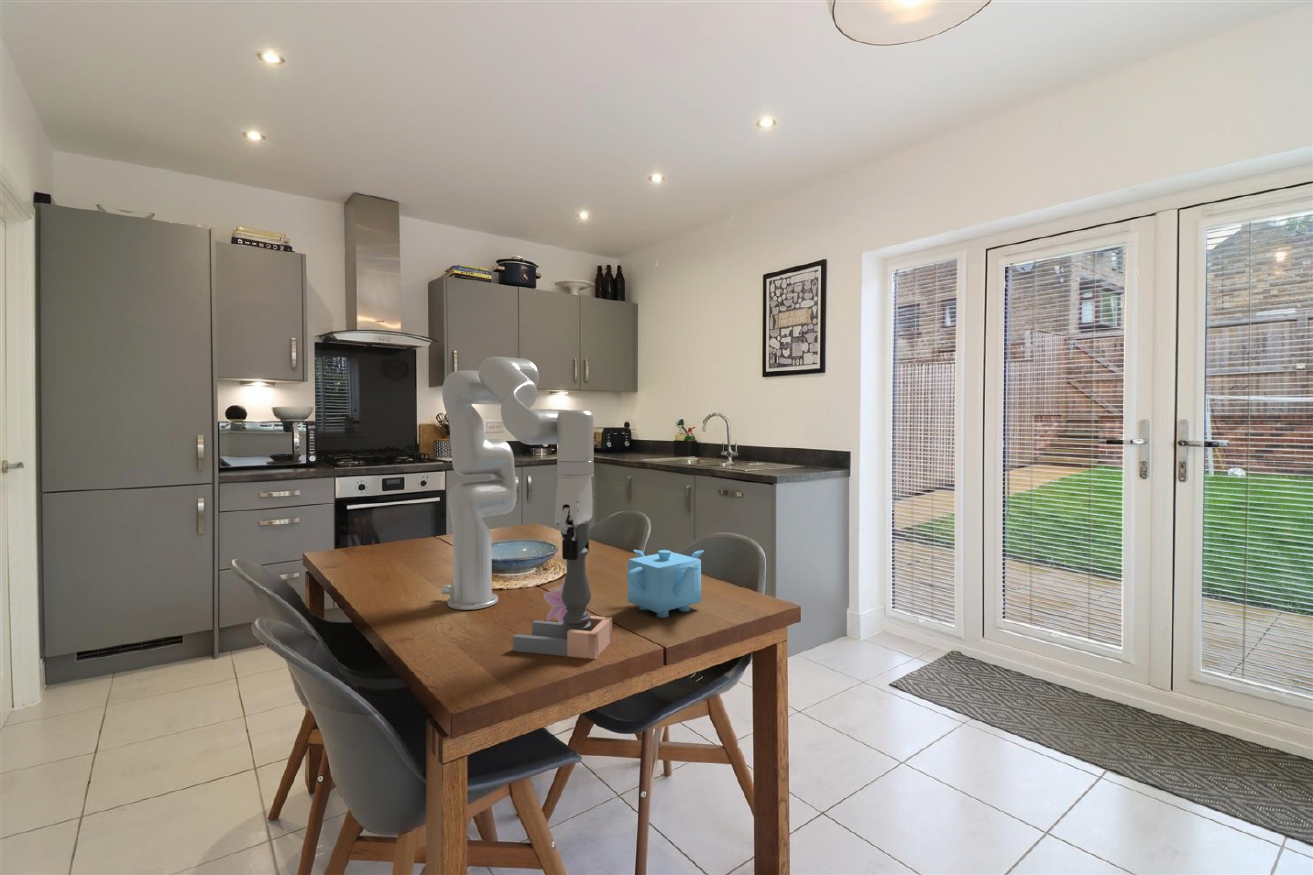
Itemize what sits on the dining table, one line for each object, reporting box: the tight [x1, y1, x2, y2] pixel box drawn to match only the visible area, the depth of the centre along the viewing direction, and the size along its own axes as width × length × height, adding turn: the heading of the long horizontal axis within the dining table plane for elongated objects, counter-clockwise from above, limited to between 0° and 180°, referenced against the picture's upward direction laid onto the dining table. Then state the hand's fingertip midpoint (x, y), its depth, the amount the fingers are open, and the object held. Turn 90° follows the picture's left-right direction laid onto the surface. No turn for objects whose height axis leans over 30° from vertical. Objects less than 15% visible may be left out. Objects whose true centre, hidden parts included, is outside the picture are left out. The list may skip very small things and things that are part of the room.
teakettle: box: [626, 549, 705, 619], centre depth 154 cm, size 19×19×15 cm
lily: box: [543, 577, 567, 623], centre depth 146 cm, size 12×12×10 cm
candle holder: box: [562, 521, 592, 639], centre depth 128 cm, size 6×6×25 cm
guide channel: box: [512, 615, 613, 660], centre depth 129 cm, size 18×10×5 cm, turn 76°
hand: (575, 555), depth 128 cm, fingers closed on candle holder, 5 cm apart
